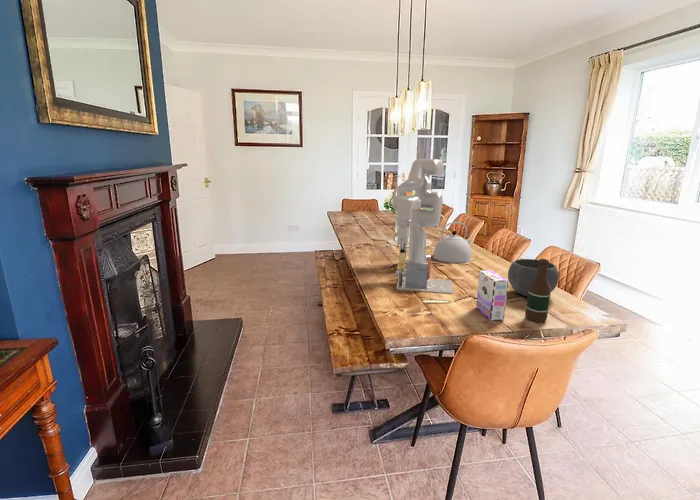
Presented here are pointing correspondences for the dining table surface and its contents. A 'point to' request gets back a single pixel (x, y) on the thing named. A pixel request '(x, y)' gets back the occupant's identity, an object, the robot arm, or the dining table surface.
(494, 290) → the candy box
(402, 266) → the plate
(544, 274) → the beer bottle
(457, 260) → the kettle
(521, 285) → the bowl
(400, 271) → the lynch pin
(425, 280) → the hitch block
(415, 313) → the dining table surface
